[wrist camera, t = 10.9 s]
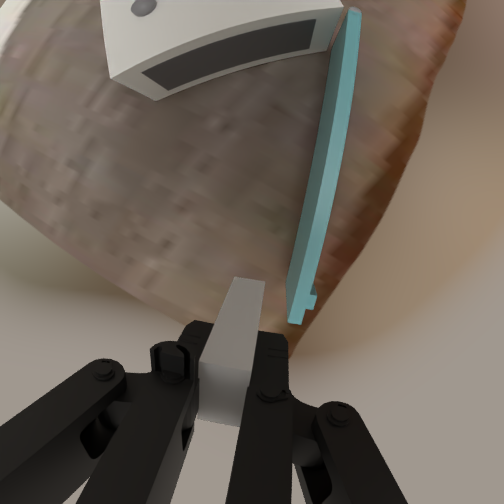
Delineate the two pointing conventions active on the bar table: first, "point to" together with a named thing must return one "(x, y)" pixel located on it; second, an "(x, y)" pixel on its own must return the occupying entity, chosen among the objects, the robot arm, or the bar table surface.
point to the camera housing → (207, 38)
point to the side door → (324, 168)
